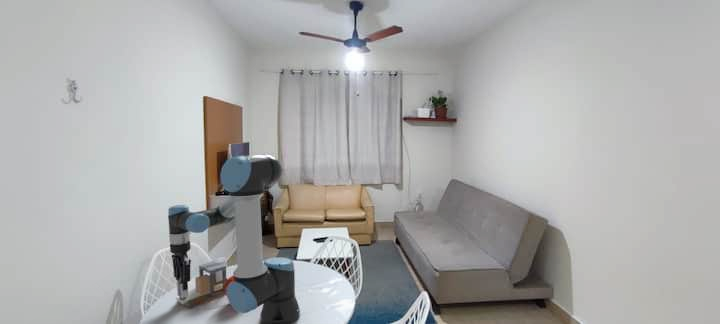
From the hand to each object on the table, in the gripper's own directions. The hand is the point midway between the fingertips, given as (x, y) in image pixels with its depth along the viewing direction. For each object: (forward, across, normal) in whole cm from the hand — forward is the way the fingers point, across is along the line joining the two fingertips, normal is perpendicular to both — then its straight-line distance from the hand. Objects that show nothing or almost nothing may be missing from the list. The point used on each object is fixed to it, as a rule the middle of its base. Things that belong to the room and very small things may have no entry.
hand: (182, 295), depth 135 cm
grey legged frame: (+4, 0, -11) cm, 12 cm away
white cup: (+4, +12, -22) cm, 26 cm away
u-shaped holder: (+2, 0, -6) cm, 6 cm away
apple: (+4, -17, -15) cm, 23 cm away
